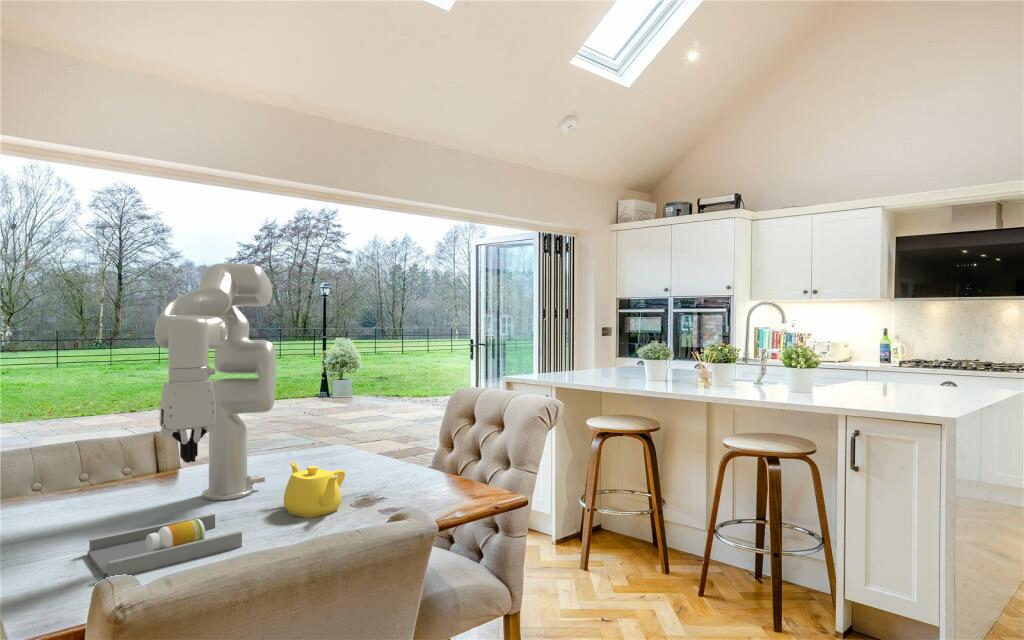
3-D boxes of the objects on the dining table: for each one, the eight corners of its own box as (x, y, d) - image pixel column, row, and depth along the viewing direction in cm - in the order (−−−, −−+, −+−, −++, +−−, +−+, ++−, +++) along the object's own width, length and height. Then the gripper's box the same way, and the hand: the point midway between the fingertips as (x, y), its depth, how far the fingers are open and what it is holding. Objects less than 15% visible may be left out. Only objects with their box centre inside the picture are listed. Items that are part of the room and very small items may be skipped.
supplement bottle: (197, 512, 129) (147, 524, 121) (208, 530, 126) (156, 544, 118) (192, 532, 130) (141, 545, 123) (202, 550, 127) (151, 564, 120)
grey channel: (213, 526, 142) (213, 513, 142) (241, 546, 130) (242, 532, 130) (86, 554, 125) (86, 539, 125) (105, 580, 112) (105, 564, 112)
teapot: (368, 510, 154) (368, 467, 154) (312, 525, 143) (312, 479, 143) (321, 493, 169) (322, 454, 169) (267, 506, 158) (267, 464, 158)
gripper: (219, 371, 138) (219, 452, 138) (144, 376, 127) (144, 463, 128) (231, 374, 133) (231, 458, 133) (154, 379, 122) (154, 471, 123)
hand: (188, 460), depth 131 cm, fingers closed
